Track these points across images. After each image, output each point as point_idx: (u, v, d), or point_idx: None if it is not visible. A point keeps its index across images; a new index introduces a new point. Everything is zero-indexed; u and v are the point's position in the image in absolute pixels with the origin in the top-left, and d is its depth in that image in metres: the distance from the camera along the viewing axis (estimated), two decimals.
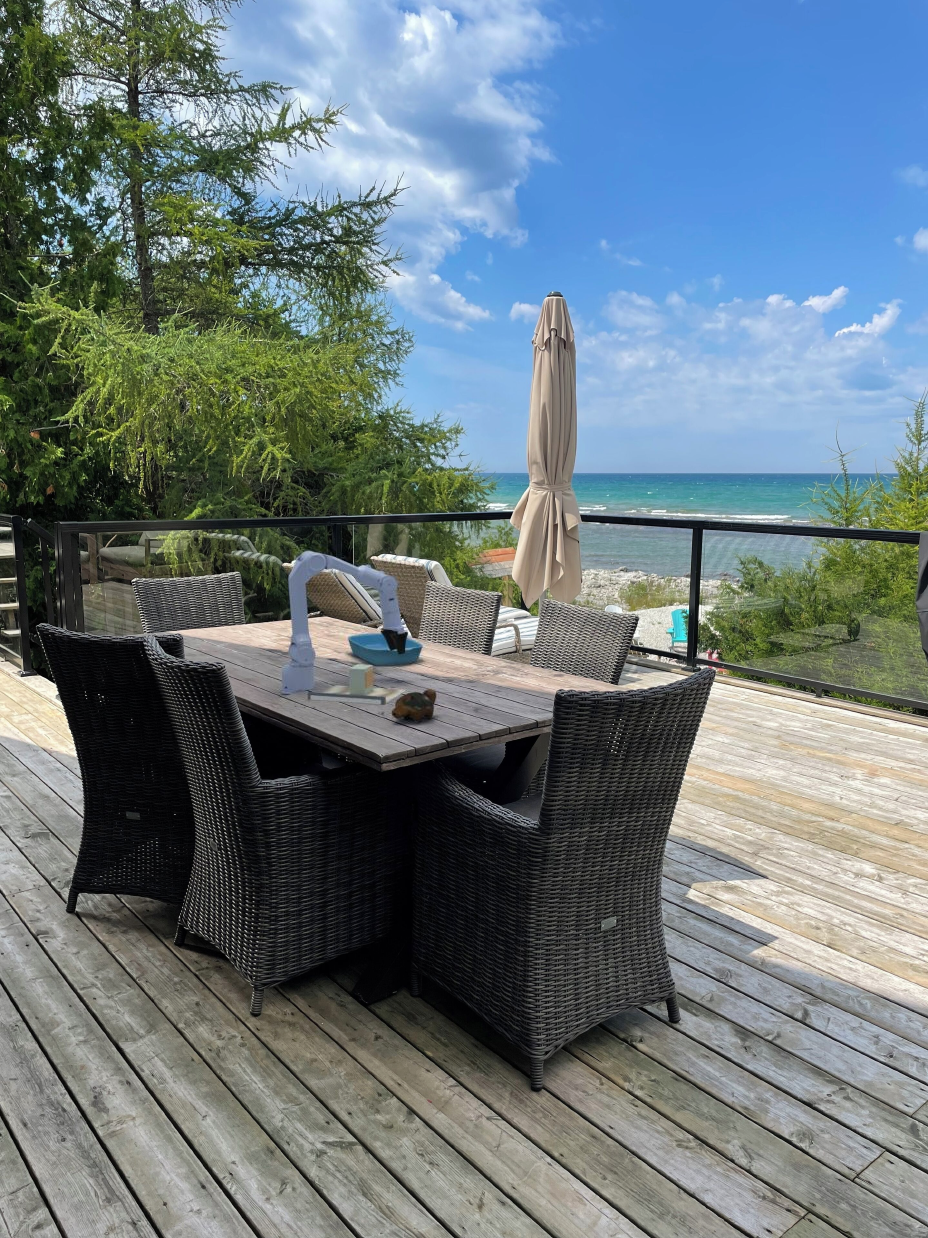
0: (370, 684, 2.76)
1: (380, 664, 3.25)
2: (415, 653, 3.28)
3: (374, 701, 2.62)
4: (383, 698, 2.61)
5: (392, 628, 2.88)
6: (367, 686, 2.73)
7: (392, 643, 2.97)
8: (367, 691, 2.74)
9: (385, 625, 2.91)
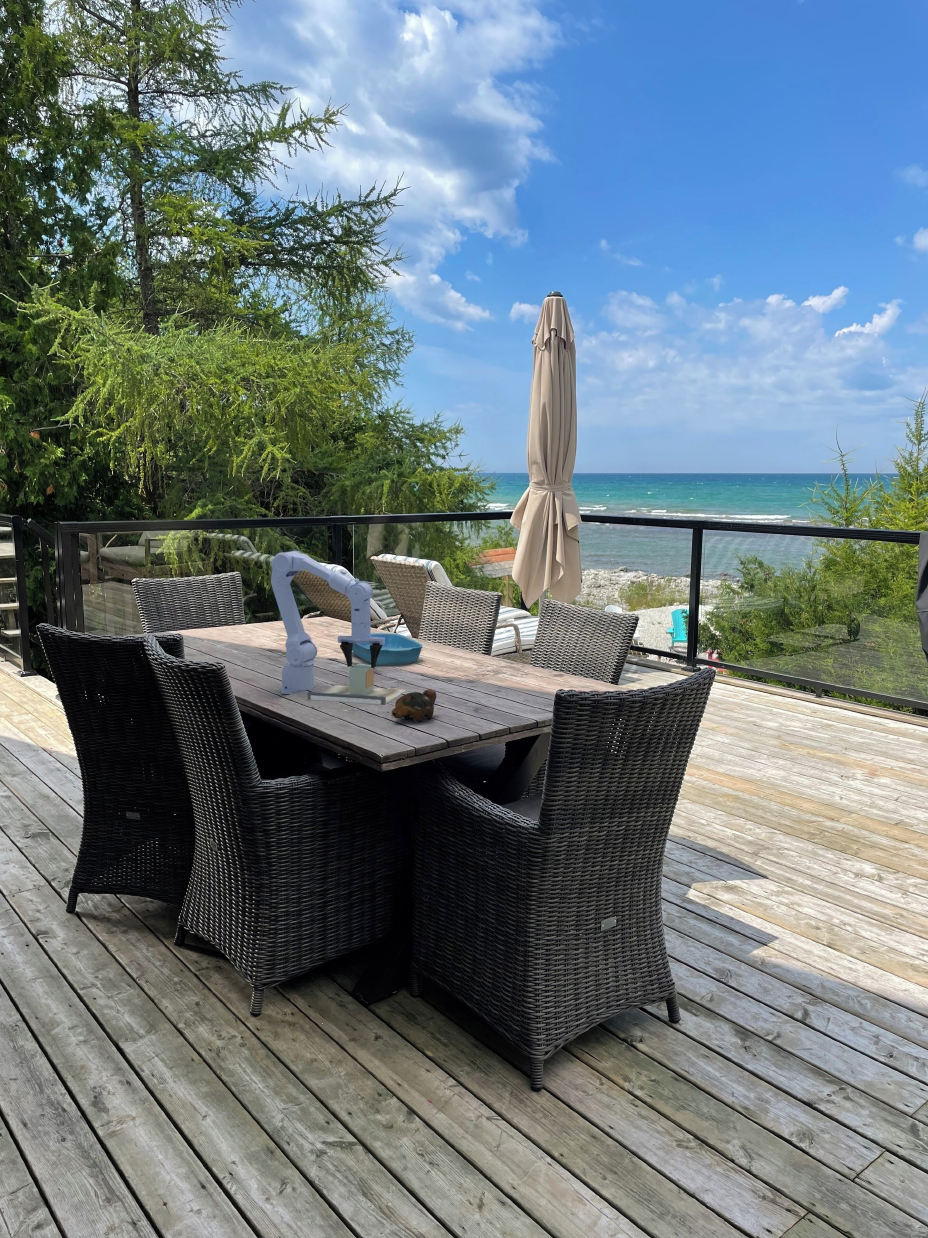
0: (370, 684, 2.76)
1: (380, 664, 3.25)
2: (415, 653, 3.28)
3: (374, 701, 2.62)
4: (383, 698, 2.61)
5: None
6: (367, 686, 2.73)
7: None
8: (367, 691, 2.74)
9: None
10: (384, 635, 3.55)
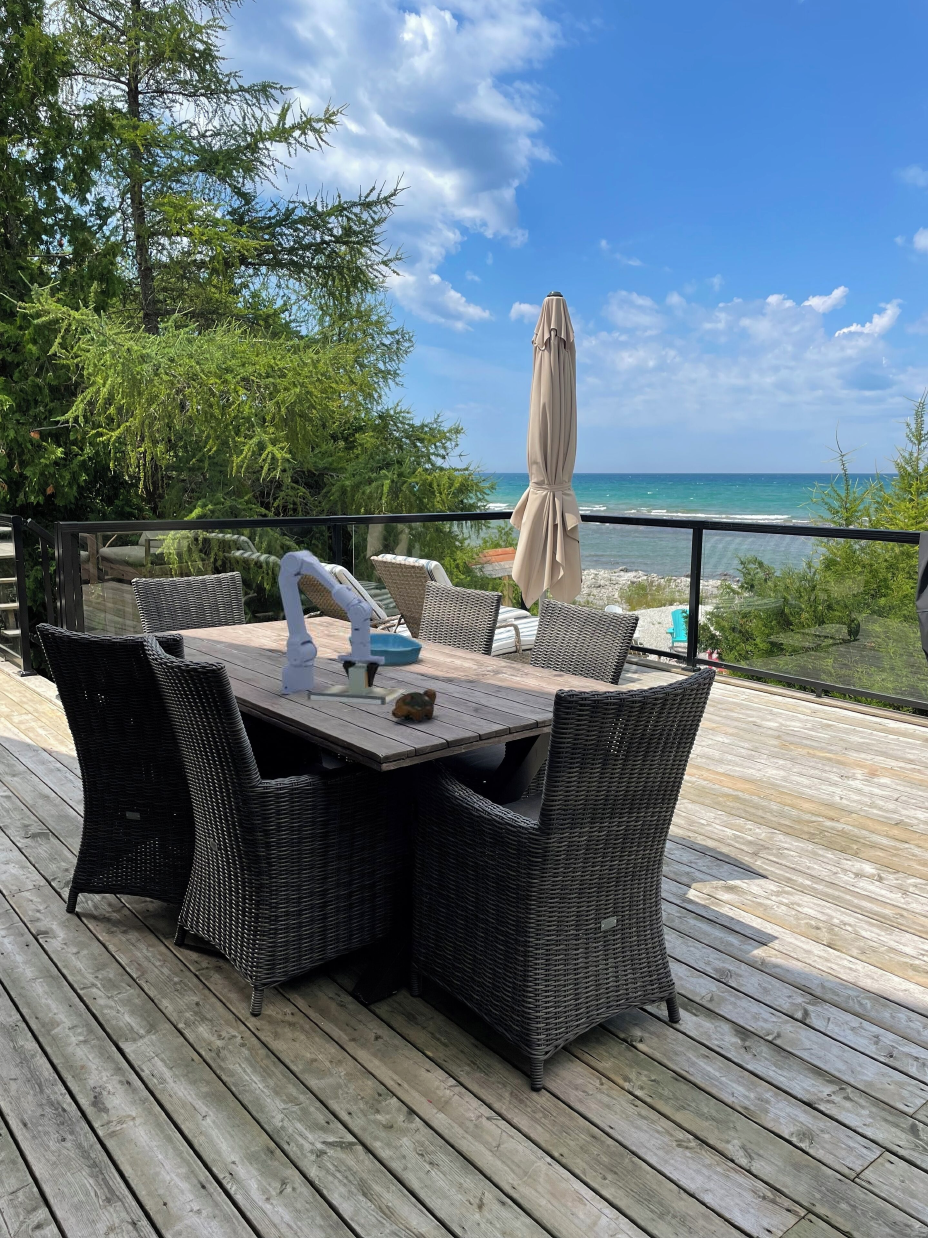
0: None
1: None
2: (414, 653, 3.28)
3: (374, 701, 2.62)
4: (383, 698, 2.61)
5: None
6: (367, 686, 2.73)
7: None
8: (367, 691, 2.75)
9: None
10: (385, 635, 3.55)
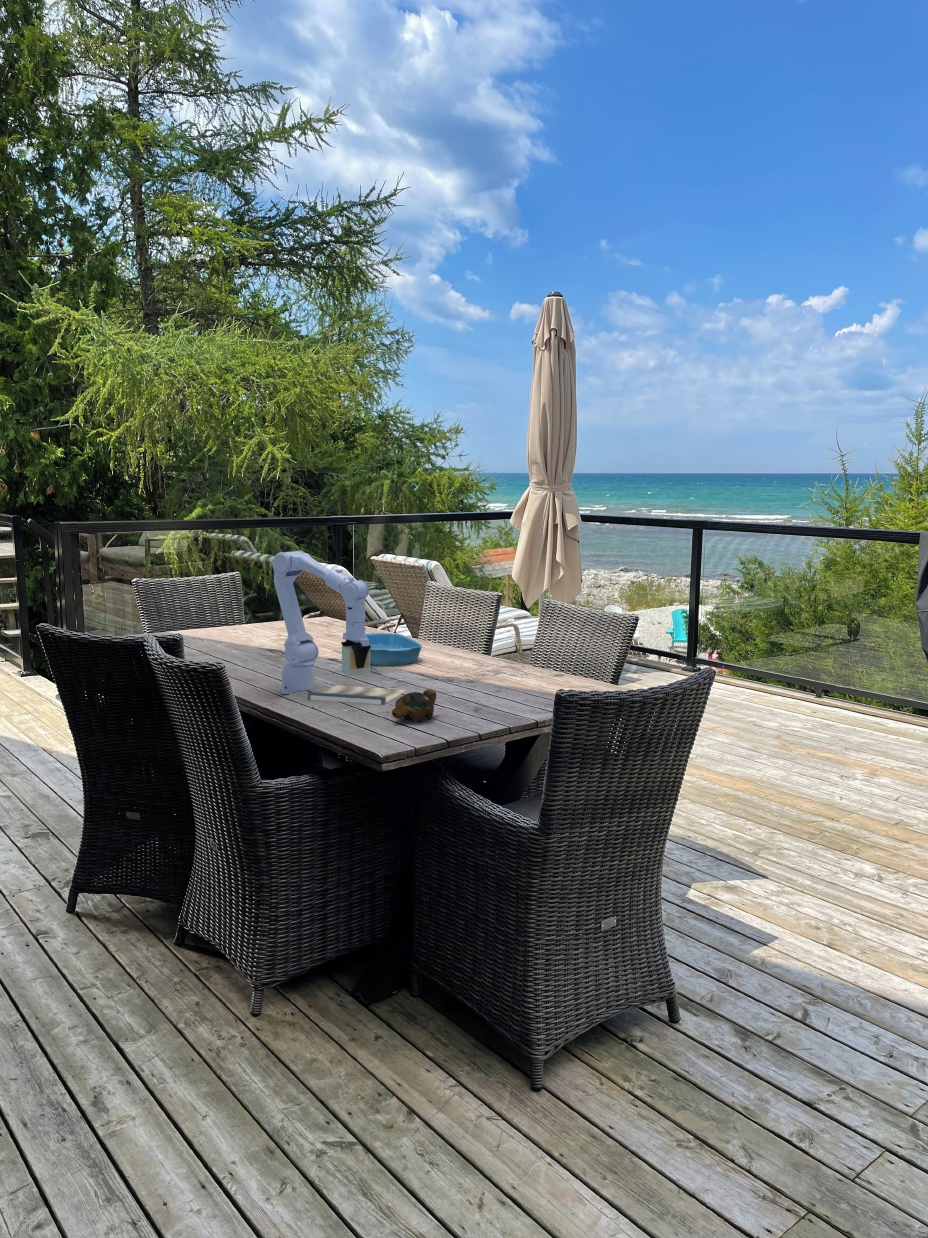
0: None
1: (378, 664, 3.25)
2: (414, 653, 3.28)
3: (374, 701, 2.62)
4: (383, 698, 2.61)
5: None
6: (353, 667, 2.68)
7: None
8: (355, 673, 2.69)
9: None
10: (386, 635, 3.55)
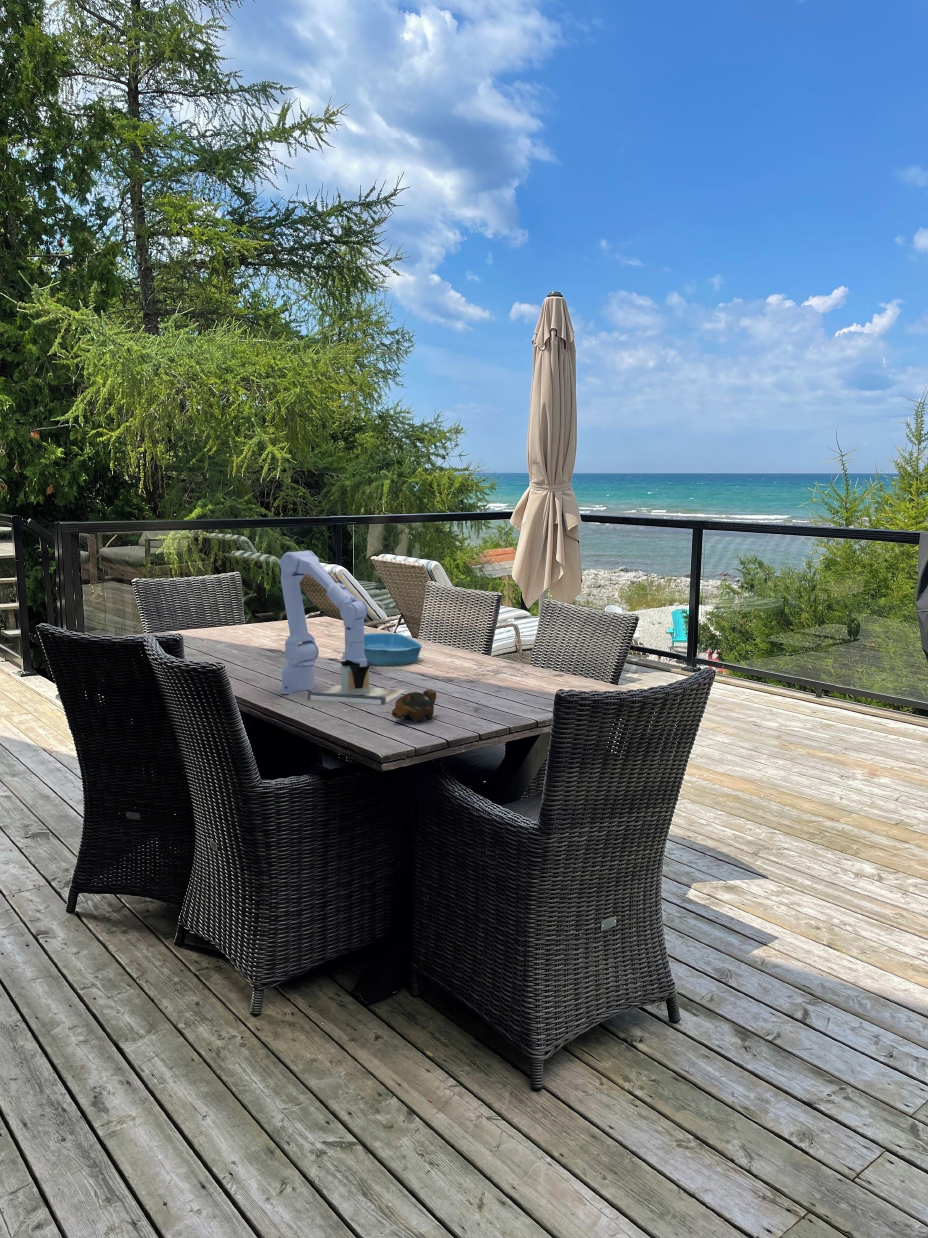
0: None
1: (378, 664, 3.25)
2: (413, 653, 3.27)
3: (374, 701, 2.62)
4: (383, 698, 2.61)
5: None
6: (351, 687, 2.68)
7: None
8: (354, 693, 2.69)
9: None
10: (386, 635, 3.55)
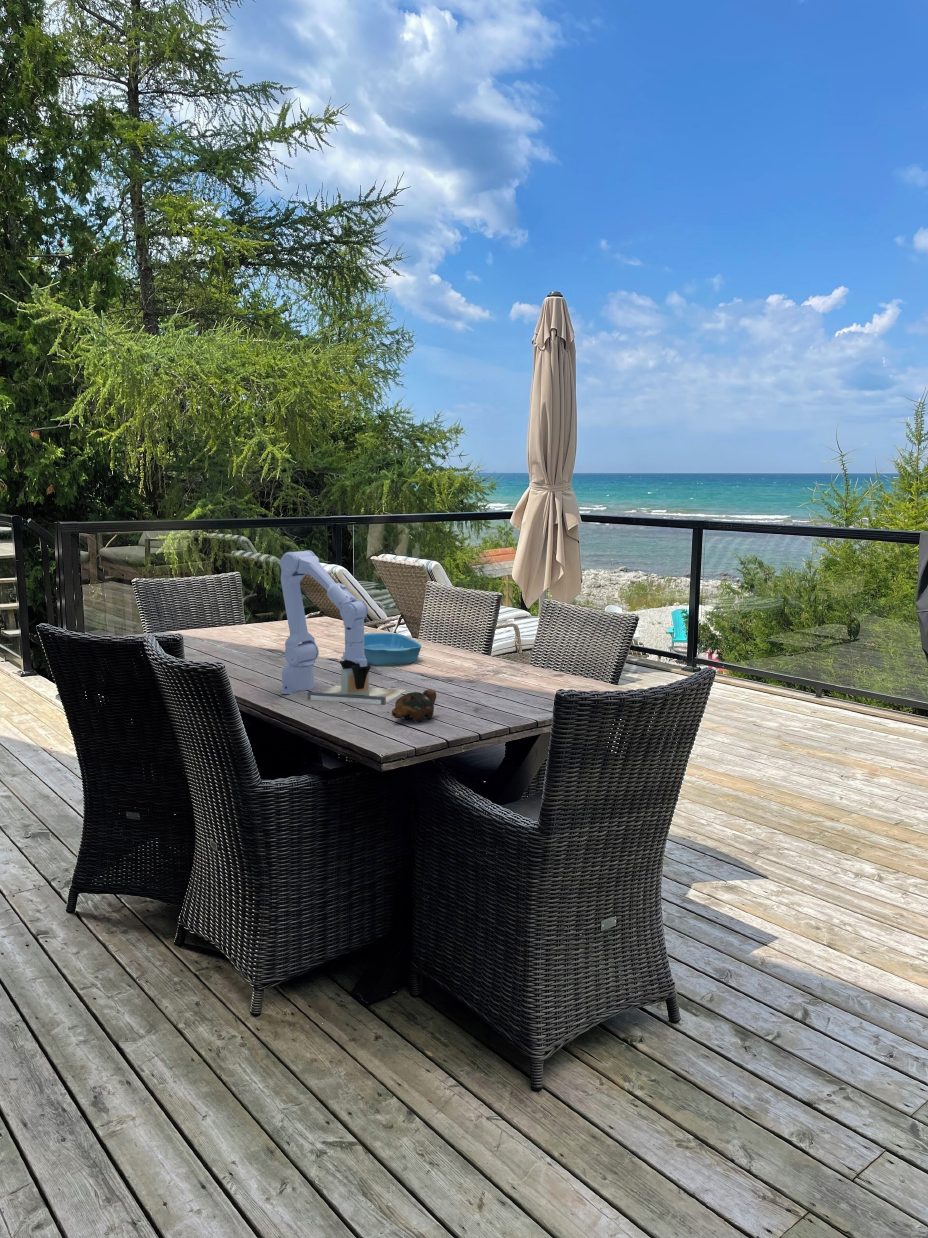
0: (359, 689, 2.69)
1: (377, 664, 3.25)
2: (413, 653, 3.27)
3: (374, 701, 2.62)
4: (383, 698, 2.61)
5: None
6: (351, 690, 2.68)
7: None
8: None
9: None
10: (387, 635, 3.55)
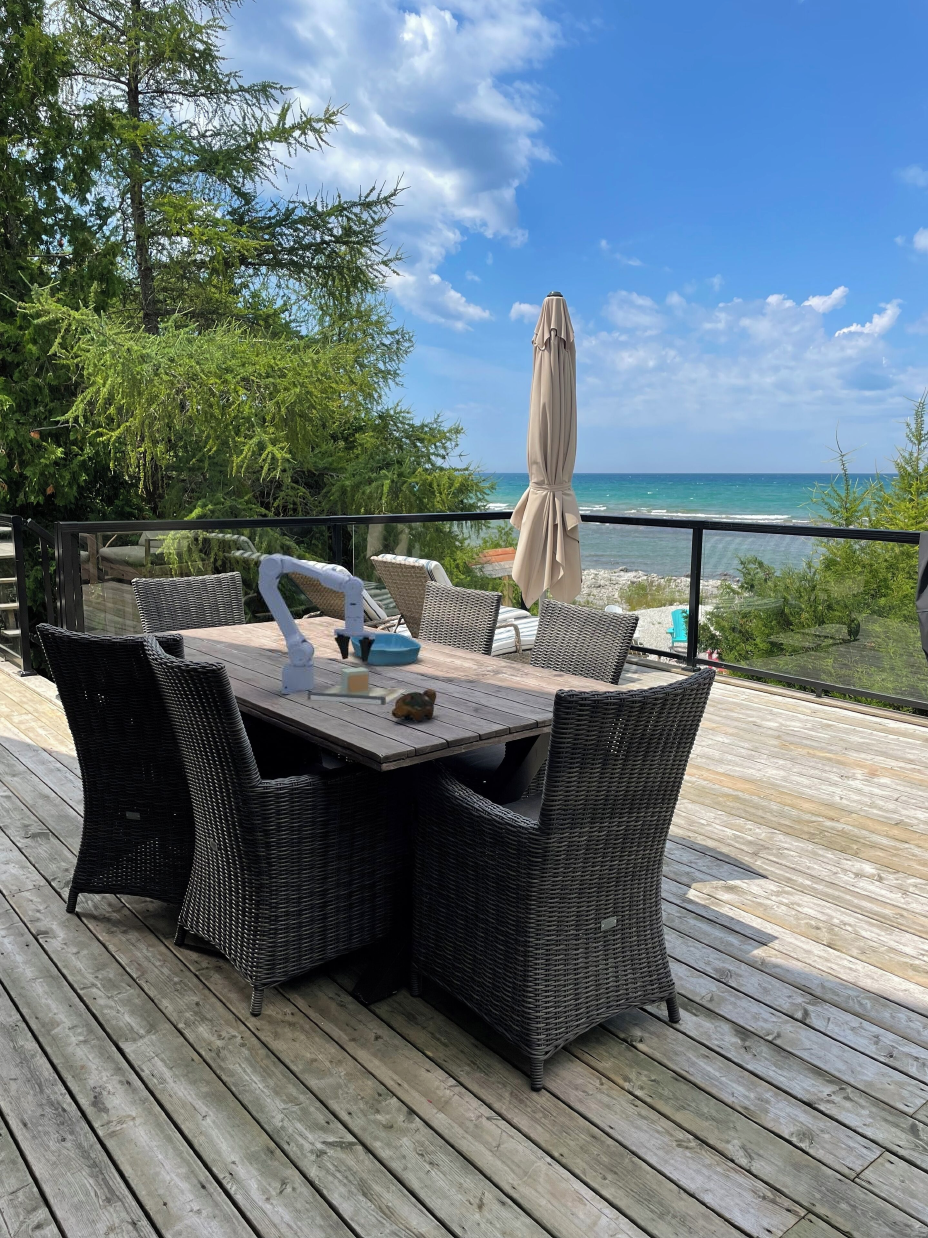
0: (359, 689, 2.69)
1: (377, 664, 3.25)
2: (412, 653, 3.27)
3: (374, 701, 2.62)
4: (383, 698, 2.61)
5: None
6: (351, 690, 2.68)
7: None
8: None
9: None
10: (387, 635, 3.55)
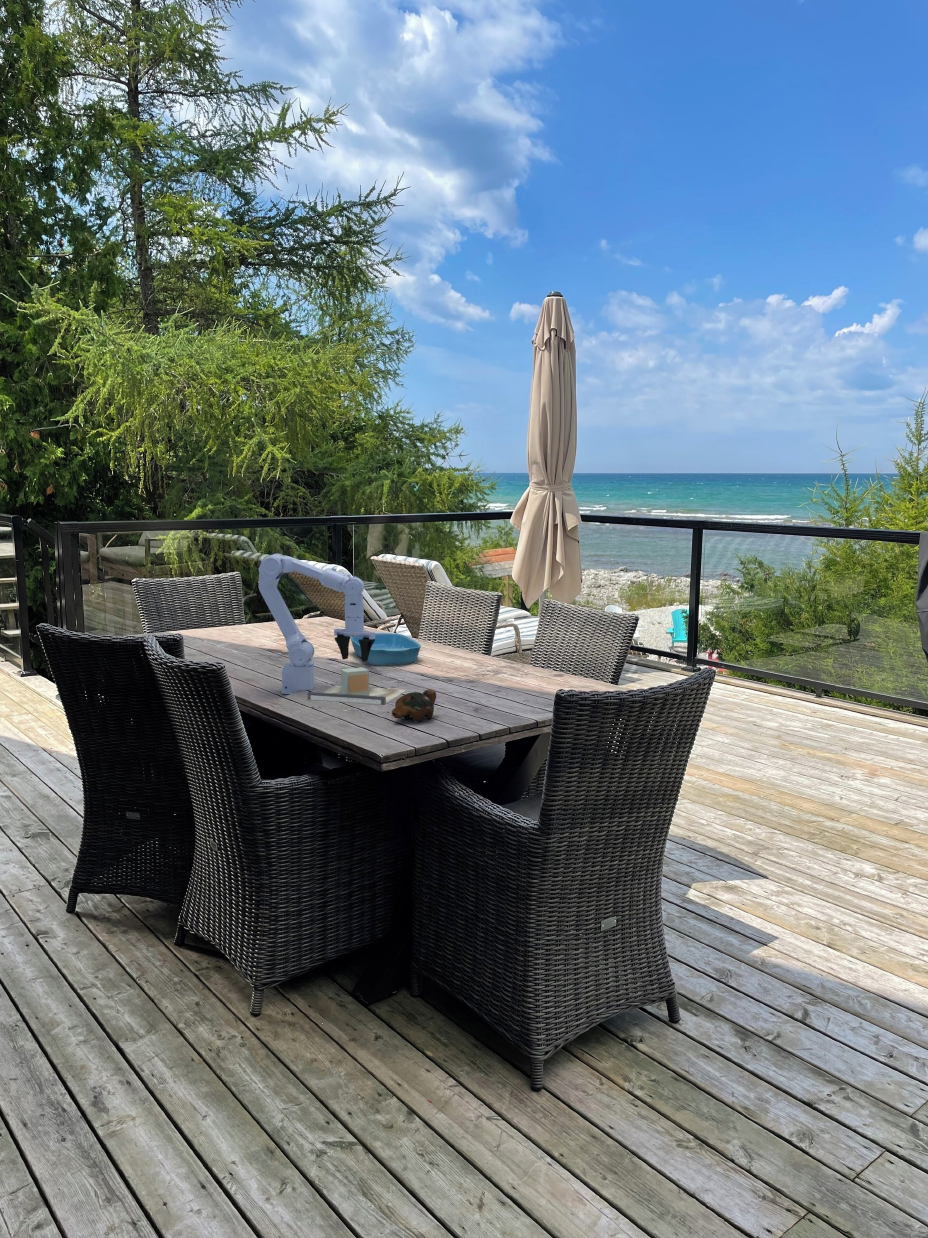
0: (359, 689, 2.69)
1: (376, 664, 3.25)
2: (412, 653, 3.27)
3: (374, 701, 2.62)
4: (383, 698, 2.61)
5: None
6: (351, 690, 2.68)
7: None
8: None
9: None
10: (388, 635, 3.55)
